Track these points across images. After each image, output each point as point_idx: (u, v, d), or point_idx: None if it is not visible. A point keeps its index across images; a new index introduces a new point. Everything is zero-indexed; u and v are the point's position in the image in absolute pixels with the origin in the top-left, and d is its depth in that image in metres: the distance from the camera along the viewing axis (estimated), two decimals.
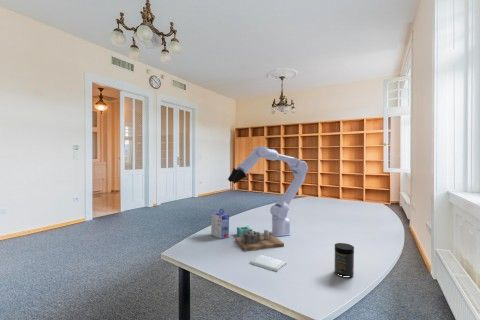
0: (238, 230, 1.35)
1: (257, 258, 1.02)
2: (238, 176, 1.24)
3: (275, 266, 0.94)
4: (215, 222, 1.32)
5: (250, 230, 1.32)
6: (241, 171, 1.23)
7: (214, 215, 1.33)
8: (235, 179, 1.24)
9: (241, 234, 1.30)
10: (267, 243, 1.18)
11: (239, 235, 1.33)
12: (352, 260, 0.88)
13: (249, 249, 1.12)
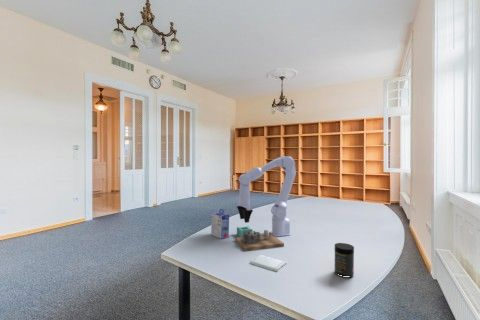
0: (238, 230, 1.35)
1: (257, 258, 1.02)
2: (246, 215, 1.30)
3: (275, 266, 0.94)
4: (215, 222, 1.32)
5: (250, 230, 1.32)
6: (245, 211, 1.28)
7: (214, 215, 1.33)
8: (246, 219, 1.30)
9: (241, 234, 1.30)
10: (267, 243, 1.18)
11: (239, 235, 1.33)
12: (352, 260, 0.88)
13: (249, 249, 1.12)
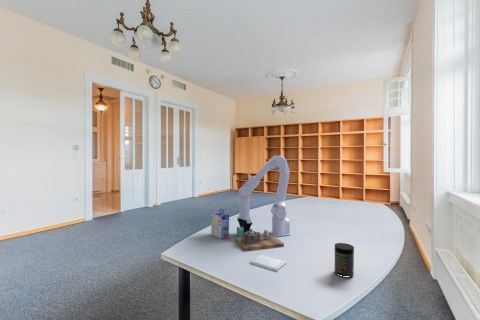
0: (238, 230, 1.35)
1: (257, 258, 1.02)
2: (246, 227, 1.30)
3: (275, 266, 0.94)
4: (215, 222, 1.32)
5: (250, 230, 1.32)
6: (245, 223, 1.28)
7: (214, 215, 1.33)
8: (246, 231, 1.30)
9: (241, 234, 1.30)
10: (267, 243, 1.18)
11: (239, 235, 1.33)
12: (352, 260, 0.88)
13: (249, 249, 1.12)
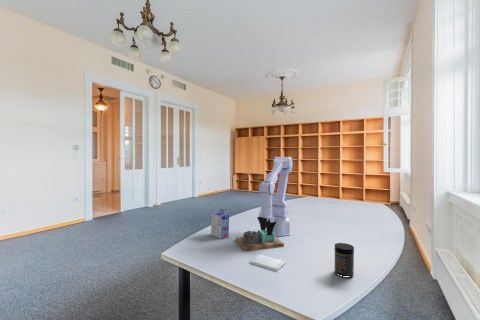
0: None
1: (257, 258, 1.02)
2: (269, 227, 1.19)
3: (275, 266, 0.95)
4: (215, 222, 1.32)
5: (272, 234, 1.21)
6: (268, 223, 1.17)
7: (214, 215, 1.33)
8: (269, 231, 1.19)
9: (263, 238, 1.19)
10: (267, 243, 1.18)
11: (260, 239, 1.23)
12: (352, 260, 0.88)
13: (249, 249, 1.12)
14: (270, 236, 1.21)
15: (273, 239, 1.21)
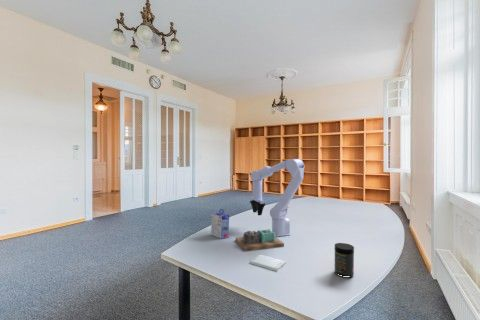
0: None
1: (257, 258, 1.02)
2: (259, 208, 1.41)
3: (275, 266, 0.95)
4: (215, 222, 1.32)
5: (272, 234, 1.21)
6: (258, 204, 1.39)
7: (214, 215, 1.33)
8: (259, 212, 1.41)
9: (263, 238, 1.19)
10: (267, 243, 1.18)
11: (260, 239, 1.23)
12: (352, 260, 0.88)
13: (249, 249, 1.12)
14: (270, 236, 1.21)
15: (273, 239, 1.21)
